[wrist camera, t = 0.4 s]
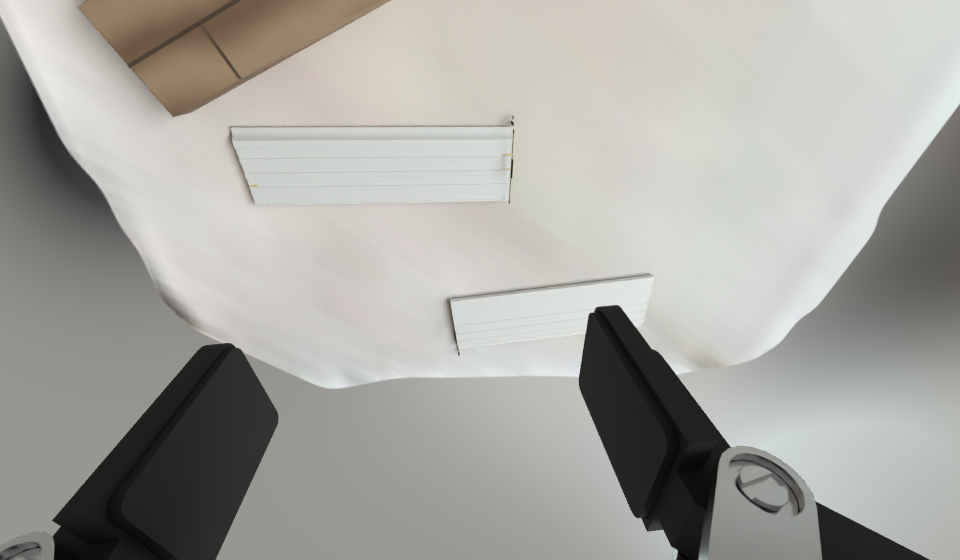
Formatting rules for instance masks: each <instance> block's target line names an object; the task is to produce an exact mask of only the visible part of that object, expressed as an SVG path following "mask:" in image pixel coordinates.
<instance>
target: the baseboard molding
mask: <svg viewBox="0 0 960 560" xmlns="http://www.w3.org/2000/svg"><path fill="white" fill-rule="evenodd" d="M653 282H654V276H653V275H645V276H637V277H628V278H620V279H612V280H603V281H595V282H587V283H578V284H570V285H562V286H553V287H545V288H537V289H528V290H520V291H512V292H504V293H495V294H487V295H479V296H470V297H462V298H454V299H450V303H451V305H450V308H451V309H452V311H451V313H452V315H453V317H452V319H453V321H454V323H453V325H454V327H455V329H454V335H455V332H456V335H455V340H456V338H457V341H456V343H457V344H458V347H457V349H458V350H459V349H465V348H473V347H481V346H489V345H497V344H505V343H513V342H521V341H529V340H538V339H546V338H554V337H562V336H570V335H578V334H586V329H587V322H588V316H589V314H590V313H593V312H594V311H595V308H596V307H600V306H610V305H619V306H620V307H621V308H622V310H623V311H624V312H625V314H626V315H627V316H628V318H629V319H630V320H631V322H632V323H633V324H634V326H635V327H640V326H641V323H642V322H644V317H645V313H646V309H647V305H648V301H649V297H650V294H651V290H652V286H653ZM458 355H459V352H458Z"/></svg>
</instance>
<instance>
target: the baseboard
mask: <svg viewBox="0 0 960 560" xmlns="http://www.w3.org/2000/svg"><path fill="white" fill-rule="evenodd" d="M512 118H513V117H512ZM513 124H514V123H513V122H512V121H511V125H513ZM230 128H231V131H232V142H233V145H234V148H235V149H236V152H237V155H238V157H239V161H240V163H241V165H242V168H243V171H244V175H245V177H246V179H247V182H248V184H249V188H250V191H251V194H252V196H253V199H254V202H255V204H256V206H268V205H321V204H374V203H428V202H481V201H508V193H509V175H510V160H511V144H512V136H511V129H512V127H511V126H459V127H230ZM513 137H514V129H513ZM512 153H513V145H512ZM511 168H512V169H511V177H510V184H511V178H512V172H513V159H512V161H511ZM509 200H510V193H509ZM509 203H510V202H509Z"/></svg>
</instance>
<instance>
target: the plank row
mask: <svg viewBox="0 0 960 560" xmlns="http://www.w3.org/2000/svg"><path fill="white" fill-rule="evenodd" d="M388 1H390V0H87V1H86V2H84V3H83V4H81V5H80V6H78V8H79V9H80V10H81V12H82V13H83V14H84V15H85V16H86V17H87V18H88V20H89V21H90V22H91V23H92V24H93V25H94V27H95V28H96V29H97V30H98V31H99V32H100V33H101V35H102V36H103V37H104V38H105V39H106V40H107V41H108V43H109V44H110V45H111V46H112V47H113V48H114V49H115V51H116V52H117V53H118V54H119V55H120V56H121V57H122V59H123V60H124V61H125V62H126V63H127V64H128V66H129V68H131V69H132V70H133V71H134V72H135V73H136V75H137V76H138V77H139V78H140V79H141V80H142V82H143V83H144V84H145V85H146V86H147V87H148V88H149V90H150V91H151V92H152V93H153V94H154V95H155V96H156V98H157V99H158V100H159V101H160V102H161V103H162V104H163V106H164V107H165V108H166V109H167V110H168V111H169V112H170V114H171V115H172V116H173V117H175V116H179V115H183V114H187V113H191V112H193V111H195V110H196V109H198V108H200V107H202V106H204V105H205V104H207V103H209V102H211V101H212V100H214V99H216V98H218V97H220V96H221V95H223V94H225V93H227V92H228V91H230V90H232V89H234V88H236V87H237V86H239V85H241V84H243V83H244V82H246V81H248V80H250V79H252V78H253V77H255V76H257V75H259V74H260V73H262V72H264V71H266V70H268V69H269V68H271V67H273V66H275V65H276V64H278V63H280V62H282V61H284V60H285V59H287V58H289V57H291V56H292V55H294V54H296V53H298V52H300V51H301V50H303V49H305V48H307V47H308V46H310V45H312V44H314V43H316V42H317V41H319V40H321V39H323V38H324V37H326V36H328V35H330V34H332V33H333V32H335V31H337V30H339V29H340V28H342V27H344V26H346V25H348V24H349V23H351V22H353V21H355V20H356V19H358V18H360V17H362V16H363V15H365V14H367V13H369V12H371V11H372V10H374V9H376V8H378V7H379V6H381V5H383V4H385V3H387V2H388Z"/></svg>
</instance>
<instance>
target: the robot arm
mask: <svg viewBox="0 0 960 560" xmlns="http://www.w3.org/2000/svg"><path fill="white" fill-rule="evenodd" d="M579 387H580V391H581V393H582V395H583V398H584V400H585V403H586V405H587V407H588V410H589V412H590V415H591V417H592V419H593V422H594V424H595V426H596V429H597V431H598V433H599V436H600V438H601V440H602V443H603V445H604V447H605V450H606V452H607V455H608V457H609V460H610V462H611V464H612V467H613V469H614V471H615V474H616V476H617V478H618V481H619V483H620V486H621V488H622V490H623V493H624V495H625V497H626V500H627V502H628V504H629V507H630V509H631V511H632V513H633V514H634V516H635V517H636V518H642V520H643V523H644V525H645V527H646V530H647V531H656V530H664V532H665V534H666V536H667V538H668V540H669V543H670V545H671V546H672V547H673V548H674V550H673V555H672V560H929V559H927V558H925V557H923V556H921V555H919V554H917V553H915V552H913V551H911V550H909V549H907V548H906V547H904V546H901V545H900V544H898V543H896V542H894V541H892V540H890V539H888V538H886V537H884V536H882V535H880V534H878V533H876V532H874V531H872V530H870V529H868V528H866V527H864V526H863V525H861V524H859V523H857V522H855V521H853V520H851V519H849V518H847V517H845V516H843V515H841V514H839V513H837V512H835V511H833V510H831V509H829V508H827V507H825V506H823V505H821V504H819V503H817V502H816V501H815V500H814V496H813V494H812V492H811V490H810V489H809V487H808V486H807V484H806V483H805V481H804V480H803V479H802V478H801V477H800V476H799V475H798V474H797V473H796V472H795V471H794V470H793V469H792V468H791V467H790V466H788V465H787V464H786V463H784V462H783V461H782V460H780V459H779V458H777V457H775V456H773V455H771V454H769V453H767V452H766V451H762V450H759V449H756V448H753V447H747V446H736V447H730V446H729V444H728V443H727V442H726V440H725V439H724V438H723V437H722V435H721V434H720V433H719V431H718V430H717V429H716V427H715V426H714V425H713V423H712V422H711V421H710V419H709V418H708V417H707V415H706V414H705V413H704V411H703V410H702V409H701V407H700V406H699V405H698V403H697V402H696V401H695V399H694V398H693V397H692V396H691V394H690V393H689V391H688V390H687V389H686V387H685V386H684V385H683V384H682V382H681V381H680V380H679V378H678V377H677V375H676V374H675V373H674V371H673V370H672V369H671V367H670V366H669V365H668V363H667V362H666V361H665V360H664V358H663V357H662V356H661V355H660V354H659V353H658V352H657V351H655V350H652V349H651V348H650V346H649V345H648V343H647V342H646V341H645V339H644V338H643V337H642V335H641V334H640V333H639V331H638V330H637V329H636V327H635V326H634V324H633V323H632V322H631V320H630V319H629V318H628V316H627V315H626V314H625V312H624V311H623V310H622V308H621V307H620V306H619V305H610V306H600V307H596V308H595V311H594V312H593V313H590V314H589V316H588V322H587V329H586V335H585V342H584V348H583V355H582V362H581V368H580V375H579ZM277 424H278V413H277V410H276V409H275V407H274V405H273V404H272V402H271V400H270V398H269V397H268V395H267V393H266V392H265V390H264V388H263V386H262V385H261V383H260V381H259V379H258V378H257V376H256V374H255V373H254V371H253V369H252V368H251V366H250V364H249V362H248V361H247V359H246V357H245V355H244V354H243V352H242V351H241V349H239V348H236V347H235V346H234V345H232V344H231V343H224V344H214V345H206V346H203V347H201V348H200V349H199V350H198V351H197V352H196V354H195V355H194V356H193V357H192V358H191V359H190V361H189V362H188V363H187V364H186V365H185V366H184V367H183V369H182V370H181V371H180V372H179V373H178V374H177V376H176V377H175V378H174V379H173V380H172V381H171V383H170V384H169V385H168V386H167V387H166V388H165V390H164V391H163V392H162V393H161V394H160V396H159V397H158V398H157V399H156V400H155V401H154V402H153V404H152V405H151V406H150V407H149V408H148V410H147V411H146V412H145V413H144V414H143V415H142V416H141V418H140V419H139V420H138V421H137V422H136V423H135V425H134V426H133V427H132V428H131V429H130V430H129V432H128V433H127V434H126V435H125V436H124V437H123V439H122V440H121V441H120V442H119V443H118V444H117V446H116V447H115V448H114V449H113V450H112V451H111V453H110V454H109V455H108V456H107V457H106V458H105V460H104V461H103V462H102V463H101V464H100V465H99V466H98V468H97V469H96V470H95V471H94V472H93V473H92V475H91V476H90V477H89V478H88V479H87V480H86V482H85V483H84V484H83V485H82V486H81V487H80V489H79V490H78V491H77V492H76V494H74V496H73V497H72V498H71V499H70V500H69V502H68V503H67V504H66V505H65V506H64V507H63V508H62V510H61V511H60V512H59V513H58V514H57V516H56V517H55V518H54V519H53V520H52V521H54V522H55V523H57V524H58V525H60V526H61V527H60V528H59V529H58V531H57V532H56V533H55V534H54V536H52V535H50V534H48V533H46V532H32V533H29V534H26V535H22V536H19V537H16V538H14V539H12V540H10V541H8V542H6V543H4V544H2V545H0V560H215V559H216V557H217V555H218V553H219V551H220V549H221V546H222V544H223V542H224V540H225V538H226V536H227V533H228V531H229V529H230V527H231V525H232V522H233V520H234V518H235V516H236V514H237V512H238V509H239V507H240V505H241V503H242V501H243V498H244V496H245V494H246V492H247V490H248V487H249V486H250V483H251V481H252V479H253V477H254V475H255V472H256V470H257V468H258V466H259V464H260V462H261V459H262V457H263V455H264V453H265V451H266V449H267V446H268V444H269V442H270V439H271V438H272V435H273V433H274V431H275V429H276V427H277Z"/></svg>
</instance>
